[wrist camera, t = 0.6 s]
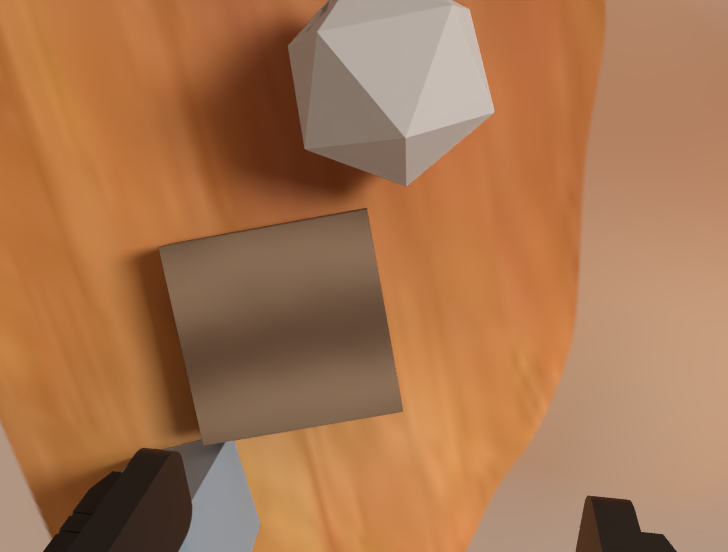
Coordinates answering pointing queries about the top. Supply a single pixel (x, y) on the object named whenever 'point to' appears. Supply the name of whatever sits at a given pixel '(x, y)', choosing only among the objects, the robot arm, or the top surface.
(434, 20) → the die
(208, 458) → the gray block
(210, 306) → the walnut base
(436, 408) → the top surface
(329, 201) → the top surface
